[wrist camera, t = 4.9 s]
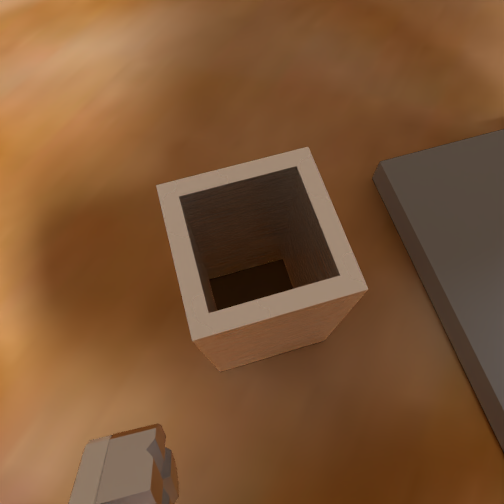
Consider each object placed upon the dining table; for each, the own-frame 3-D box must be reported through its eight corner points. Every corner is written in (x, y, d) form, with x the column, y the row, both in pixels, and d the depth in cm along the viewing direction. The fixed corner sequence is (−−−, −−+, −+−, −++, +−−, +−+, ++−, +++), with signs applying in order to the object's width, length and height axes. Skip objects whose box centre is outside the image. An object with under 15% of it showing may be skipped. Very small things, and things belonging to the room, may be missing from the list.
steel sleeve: (324, 340, 18) (368, 288, 11) (219, 372, 18) (192, 340, 11) (290, 245, 20) (308, 146, 13) (194, 271, 20) (156, 185, 12)
